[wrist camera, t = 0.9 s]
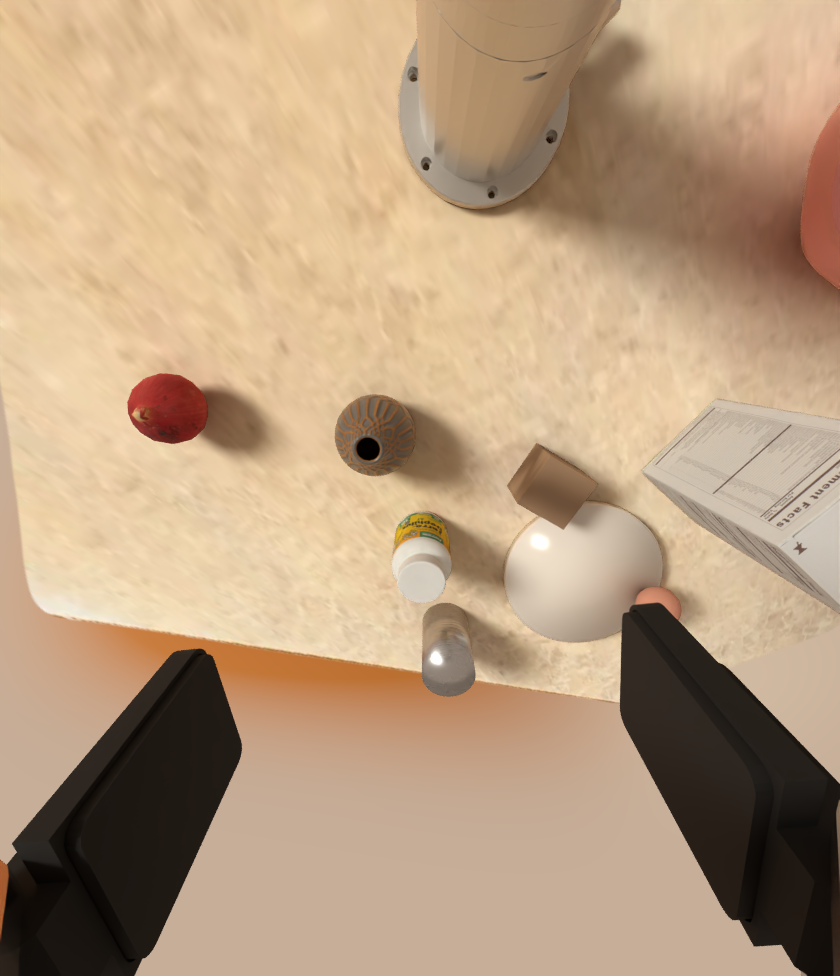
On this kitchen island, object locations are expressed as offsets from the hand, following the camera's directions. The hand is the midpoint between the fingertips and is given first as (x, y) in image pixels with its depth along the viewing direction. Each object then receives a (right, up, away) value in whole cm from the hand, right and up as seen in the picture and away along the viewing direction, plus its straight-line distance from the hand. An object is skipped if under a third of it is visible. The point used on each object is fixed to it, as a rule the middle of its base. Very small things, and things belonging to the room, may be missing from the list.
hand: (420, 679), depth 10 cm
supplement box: (+28, +7, +31) cm, 42 cm away
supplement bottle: (0, 0, +34) cm, 34 cm away
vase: (-4, +10, +31) cm, 32 cm away
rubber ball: (+24, -7, +34) cm, 42 cm away
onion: (-21, +12, +30) cm, 39 cm away
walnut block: (+12, +5, +32) cm, 34 cm away
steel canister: (+3, -11, +37) cm, 39 cm away
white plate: (+17, -5, +35) cm, 39 cm away
